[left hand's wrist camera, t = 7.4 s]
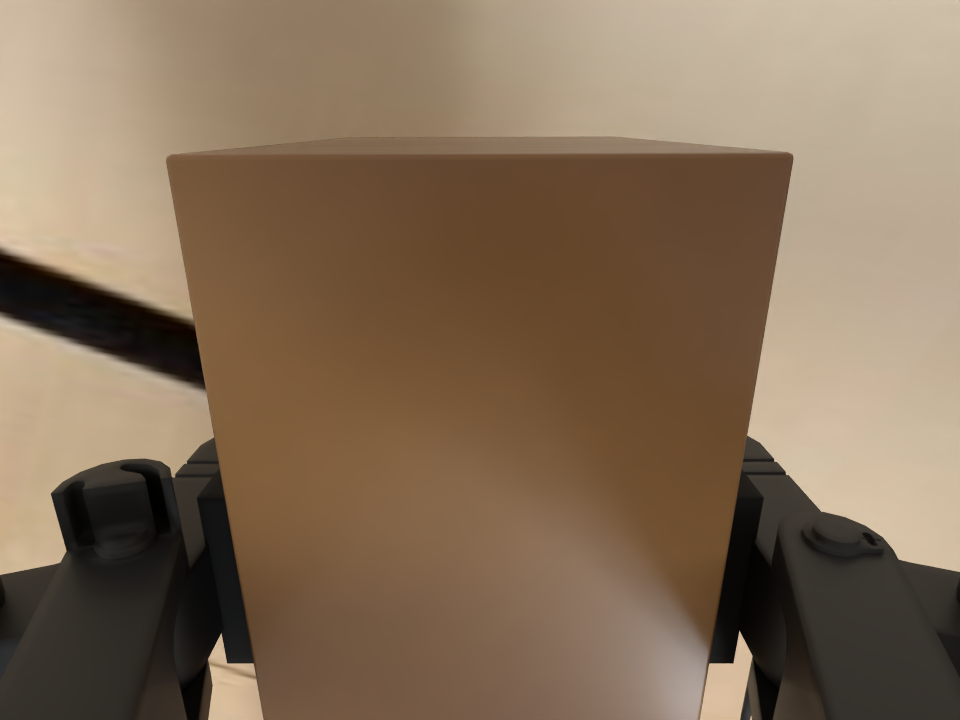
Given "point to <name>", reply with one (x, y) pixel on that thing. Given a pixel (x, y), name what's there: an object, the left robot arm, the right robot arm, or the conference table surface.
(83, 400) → the conference table surface
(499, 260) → the beam
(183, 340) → the conference table surface
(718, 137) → the conference table surface
